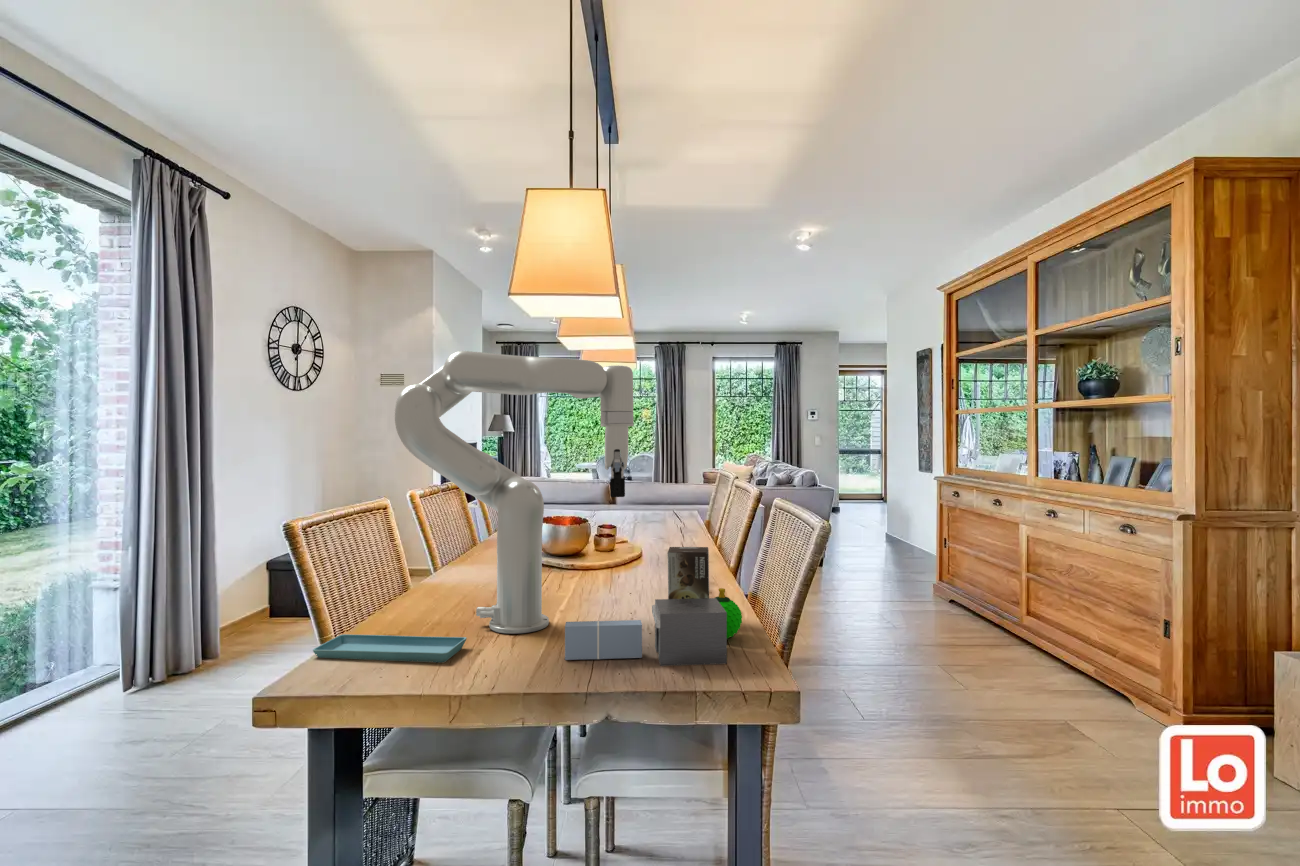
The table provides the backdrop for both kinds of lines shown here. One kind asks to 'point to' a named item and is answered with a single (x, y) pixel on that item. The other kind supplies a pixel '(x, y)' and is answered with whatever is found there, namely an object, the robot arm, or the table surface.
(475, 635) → the table surface
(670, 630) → the dark grey box
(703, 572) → the coffee box
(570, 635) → the blue-grey banded block
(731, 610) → the ornament
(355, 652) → the teal serving tray
